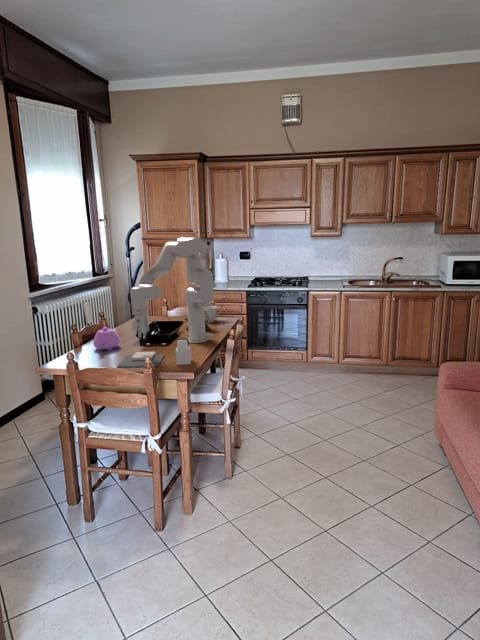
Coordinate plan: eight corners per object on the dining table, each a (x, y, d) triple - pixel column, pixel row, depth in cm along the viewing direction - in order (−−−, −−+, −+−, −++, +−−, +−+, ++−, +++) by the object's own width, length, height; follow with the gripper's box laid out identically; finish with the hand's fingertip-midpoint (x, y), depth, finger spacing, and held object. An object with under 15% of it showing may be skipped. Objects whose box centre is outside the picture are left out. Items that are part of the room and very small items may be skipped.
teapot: (111, 354, 238) (109, 332, 236) (86, 354, 240) (83, 332, 238) (125, 343, 258) (123, 323, 255) (102, 343, 260) (99, 323, 257)
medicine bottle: (177, 360, 223) (175, 337, 221) (191, 359, 224) (189, 337, 221) (176, 365, 216) (174, 341, 214) (190, 364, 217) (189, 340, 214)
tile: (155, 351, 233) (151, 357, 223) (155, 354, 233) (151, 360, 223) (136, 351, 233) (131, 357, 223) (136, 354, 234) (131, 360, 224)
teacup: (221, 323, 300) (221, 308, 297) (199, 323, 300) (199, 309, 298) (222, 319, 311) (222, 305, 309) (201, 319, 312) (200, 305, 309)
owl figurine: (180, 331, 283) (179, 304, 279) (190, 327, 293) (188, 301, 290) (205, 333, 275) (203, 306, 272) (214, 328, 286) (213, 302, 282)
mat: (164, 355, 232) (164, 354, 232) (157, 366, 215) (157, 365, 215) (126, 356, 233) (126, 355, 232) (117, 367, 216) (117, 366, 216)
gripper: (143, 314, 217) (147, 349, 221) (150, 307, 231) (153, 341, 235) (128, 314, 217) (132, 350, 221) (136, 308, 231) (139, 342, 236)
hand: (143, 345), depth 228 cm, fingers closed
